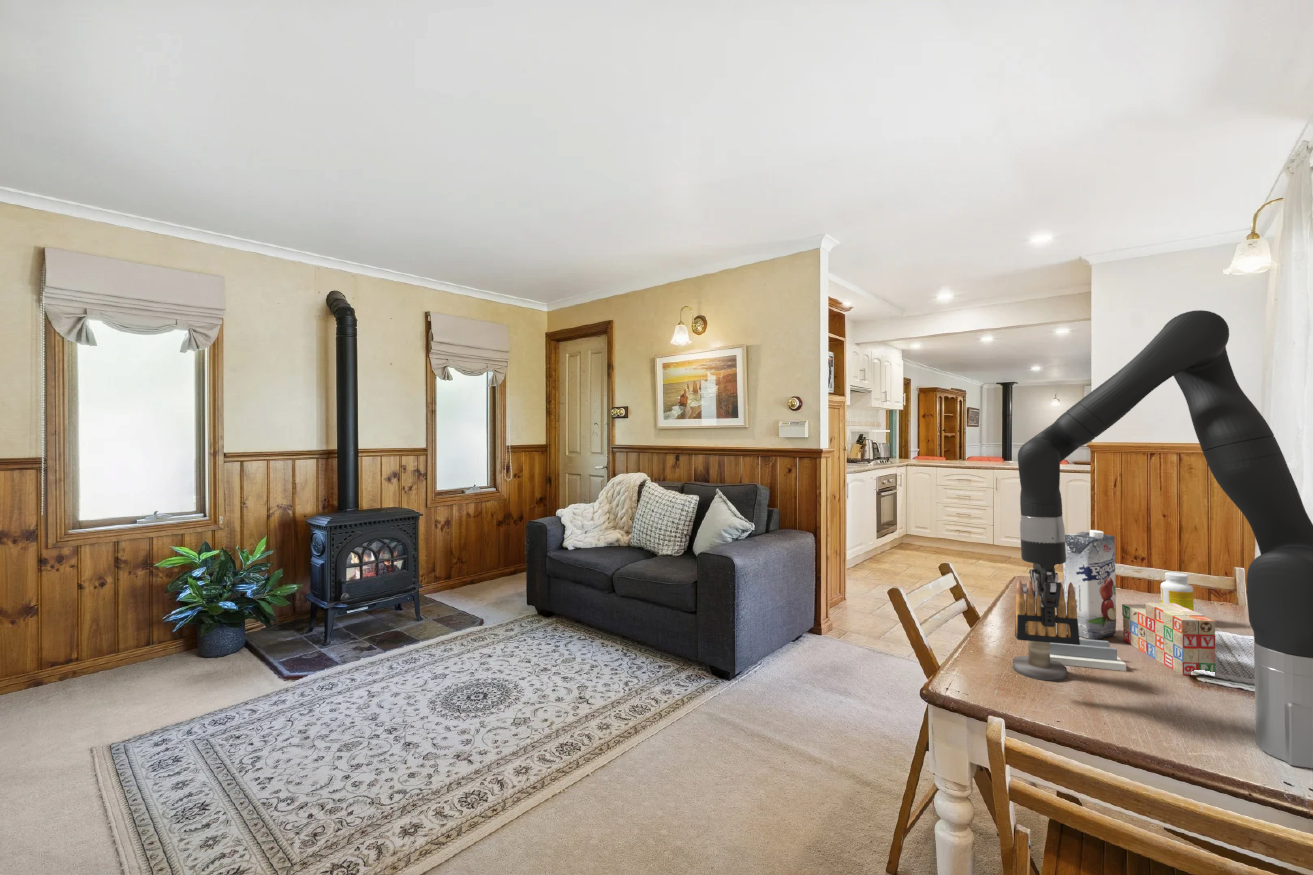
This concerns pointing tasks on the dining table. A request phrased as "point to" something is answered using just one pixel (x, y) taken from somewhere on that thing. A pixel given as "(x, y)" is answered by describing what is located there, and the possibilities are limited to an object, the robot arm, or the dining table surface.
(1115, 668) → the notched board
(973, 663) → the dining table surface
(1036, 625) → the ammunition clip
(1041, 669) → the bobbin post
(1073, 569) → the juice carton
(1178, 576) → the supplement bottle
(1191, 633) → the stack of blocks
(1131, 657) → the dining table surface
